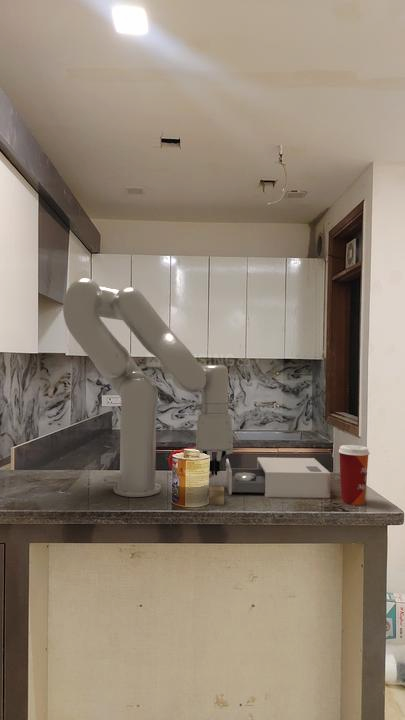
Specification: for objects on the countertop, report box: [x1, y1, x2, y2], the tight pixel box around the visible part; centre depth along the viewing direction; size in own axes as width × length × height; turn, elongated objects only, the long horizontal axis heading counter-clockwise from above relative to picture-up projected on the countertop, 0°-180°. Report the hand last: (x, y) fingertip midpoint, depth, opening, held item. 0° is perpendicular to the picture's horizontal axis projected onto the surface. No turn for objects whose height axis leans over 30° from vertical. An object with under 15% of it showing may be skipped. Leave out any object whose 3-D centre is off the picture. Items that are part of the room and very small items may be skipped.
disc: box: [235, 473, 256, 482], centre depth 132 cm, size 6×6×2 cm
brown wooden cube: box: [208, 485, 225, 506], centre depth 118 cm, size 4×4×4 cm
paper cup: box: [337, 444, 371, 506], centre depth 120 cm, size 8×8×14 cm
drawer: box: [224, 458, 265, 496], centre depth 132 cm, size 17×16×6 cm
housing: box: [256, 456, 331, 499], centre depth 132 cm, size 17×18×7 cm
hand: (214, 473), depth 132 cm, fingers closed
